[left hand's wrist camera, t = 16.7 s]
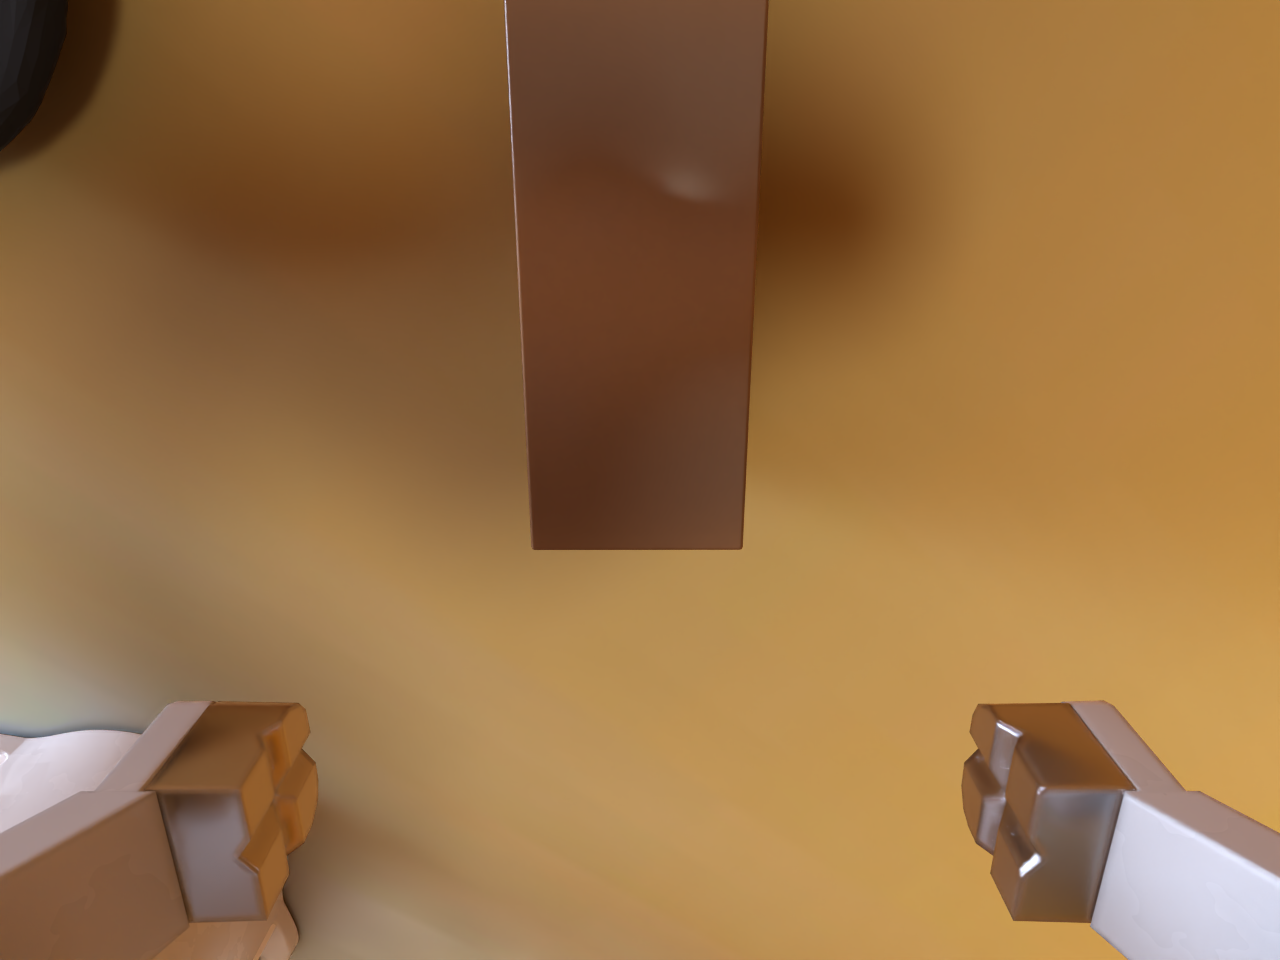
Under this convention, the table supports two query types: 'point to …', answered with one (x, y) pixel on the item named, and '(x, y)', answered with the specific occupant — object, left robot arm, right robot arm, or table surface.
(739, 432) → the box
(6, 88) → the oil lamp
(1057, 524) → the table surface
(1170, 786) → the left robot arm
